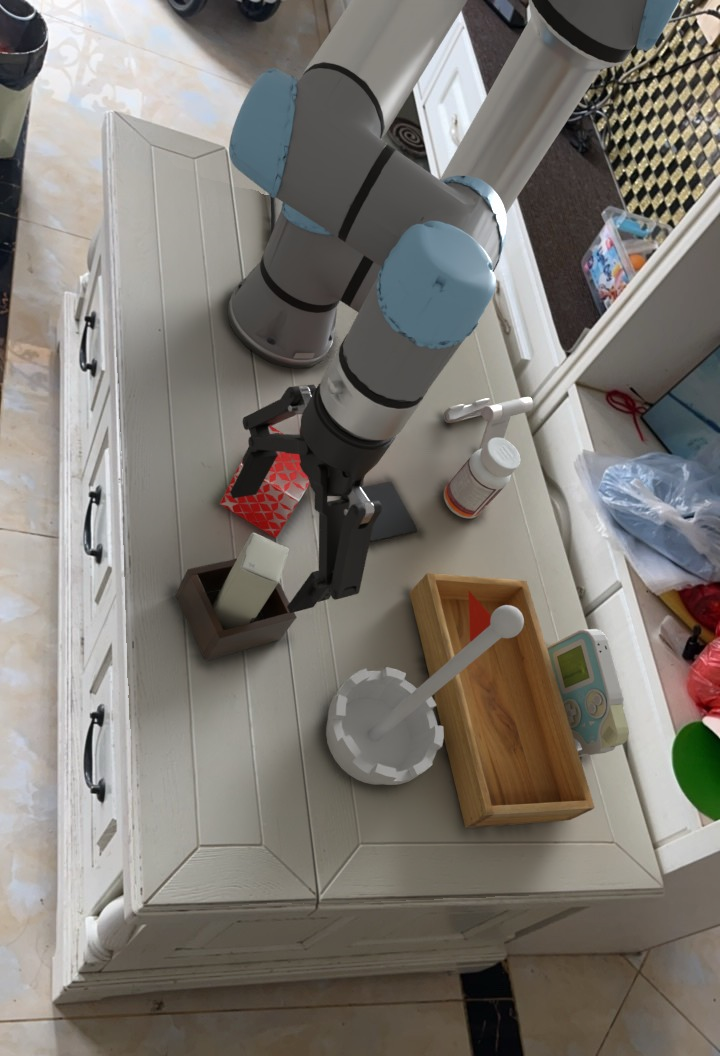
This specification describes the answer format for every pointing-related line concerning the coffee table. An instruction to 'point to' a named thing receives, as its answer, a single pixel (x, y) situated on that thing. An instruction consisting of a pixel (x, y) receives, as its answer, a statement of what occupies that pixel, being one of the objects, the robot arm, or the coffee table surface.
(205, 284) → the coffee table surface
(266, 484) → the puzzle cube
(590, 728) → the handheld gaming console
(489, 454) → the pill bottle
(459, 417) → the tablet stand
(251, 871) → the coffee table surface
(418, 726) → the flag stand
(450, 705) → the tray
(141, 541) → the coffee table surface
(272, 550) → the box
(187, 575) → the box
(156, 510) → the coffee table surface
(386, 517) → the mat
